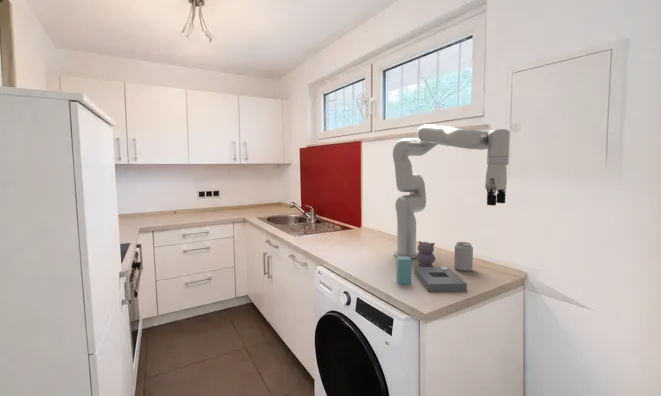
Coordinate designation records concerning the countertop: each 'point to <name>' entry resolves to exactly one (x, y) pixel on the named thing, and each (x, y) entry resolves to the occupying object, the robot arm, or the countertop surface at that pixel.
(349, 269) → the countertop surface
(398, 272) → the plug
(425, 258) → the cat figurine
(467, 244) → the can
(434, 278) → the socket
